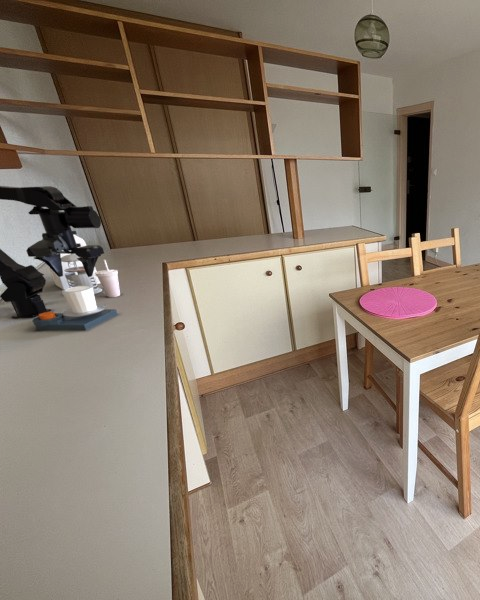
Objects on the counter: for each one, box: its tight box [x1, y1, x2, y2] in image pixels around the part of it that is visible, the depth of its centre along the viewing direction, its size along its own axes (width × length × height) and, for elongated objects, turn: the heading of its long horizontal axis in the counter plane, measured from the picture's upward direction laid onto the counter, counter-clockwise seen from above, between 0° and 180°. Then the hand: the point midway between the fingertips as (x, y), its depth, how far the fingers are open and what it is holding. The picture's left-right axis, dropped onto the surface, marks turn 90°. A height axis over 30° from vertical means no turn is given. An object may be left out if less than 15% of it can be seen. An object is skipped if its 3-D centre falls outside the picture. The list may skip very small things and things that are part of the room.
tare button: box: [37, 311, 56, 320], centre depth 93 cm, size 3×3×2 cm
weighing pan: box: [62, 303, 107, 317], centre depth 98 cm, size 10×10×1 cm
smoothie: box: [95, 259, 121, 298], centre depth 118 cm, size 6×6×14 cm
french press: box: [61, 254, 103, 295], centre depth 119 cm, size 10×12×25 cm
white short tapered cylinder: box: [61, 285, 97, 313], centre depth 97 cm, size 7×7×7 cm
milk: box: [41, 234, 101, 290], centre depth 128 cm, size 12×12×26 cm
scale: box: [32, 308, 118, 331], centre depth 98 cm, size 14×13×4 cm
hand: (75, 276), depth 103 cm, fingers open, 9 cm apart
